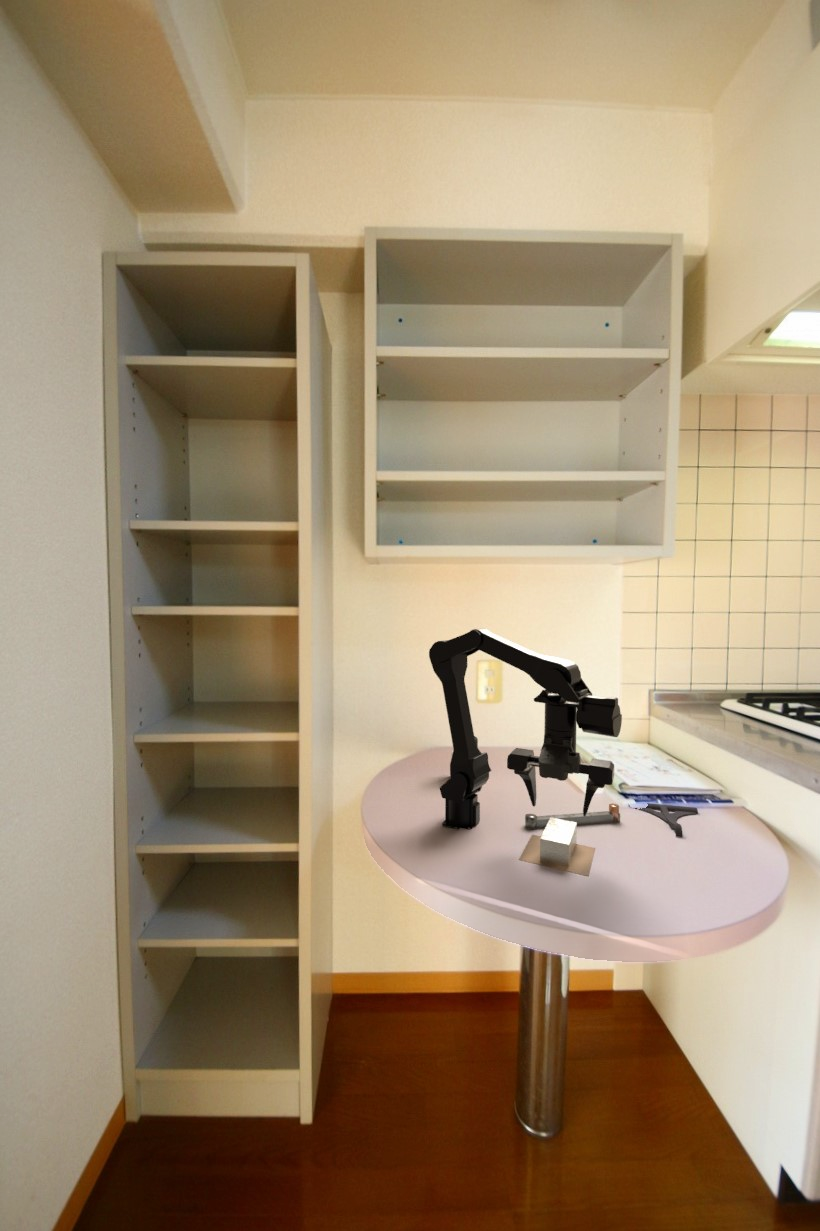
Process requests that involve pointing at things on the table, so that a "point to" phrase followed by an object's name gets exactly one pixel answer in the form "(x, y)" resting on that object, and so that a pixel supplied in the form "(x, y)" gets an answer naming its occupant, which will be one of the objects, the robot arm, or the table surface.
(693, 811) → the bracket
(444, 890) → the table surface
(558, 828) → the stone-textured block
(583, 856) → the plate
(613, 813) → the lever
